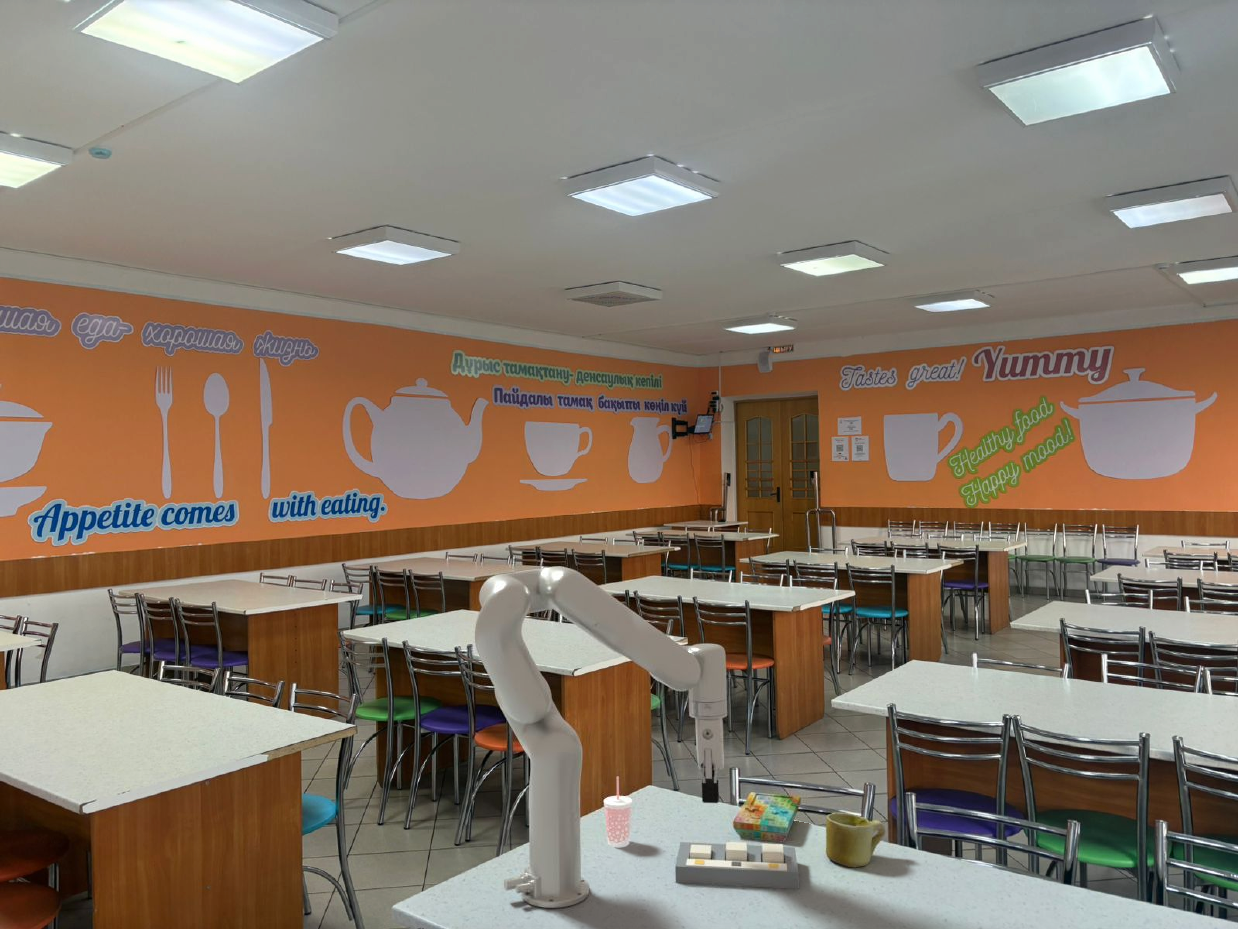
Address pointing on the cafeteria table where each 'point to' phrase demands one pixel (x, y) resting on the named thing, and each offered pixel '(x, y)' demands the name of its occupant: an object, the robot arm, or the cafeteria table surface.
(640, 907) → the cafeteria table surface
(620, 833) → the beverage cup
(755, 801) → the puzzle game
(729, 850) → the button middle
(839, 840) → the mug
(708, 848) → the button left
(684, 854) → the button board
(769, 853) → the button right
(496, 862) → the cafeteria table surface
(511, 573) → the robot arm
